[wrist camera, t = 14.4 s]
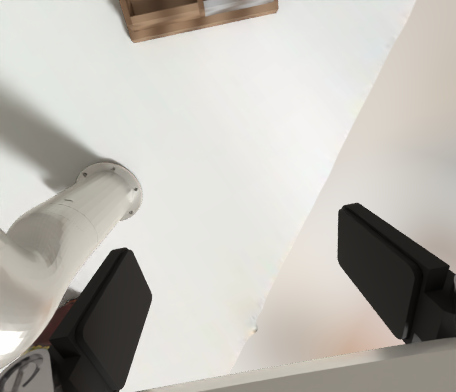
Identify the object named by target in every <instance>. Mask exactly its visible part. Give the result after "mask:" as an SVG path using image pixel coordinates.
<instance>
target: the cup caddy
mask: <svg viewBox="0 0 456 392" xmlns="http://www.w3.org/2000/svg"><path fill="white" fill-rule="evenodd" d="M119 2H120V5H121V8H122V12H123V15H124V18H125V21H126V25H127V28H128V31H129V35H130V38H131V41H133V42H134V43H137V42H142V41H146V40H151V39H156V38H160V37H165V36H170V35H174V34H179V33H184V32H188V31H193V30H198V29H202V28H207V27H212V26H217V25H221V24H226V23H231V22H235V21H240V20H245V19H249V18H254V17H259V16H263V15H268V14H273V13H276V12H277V10H278V0H119Z"/></svg>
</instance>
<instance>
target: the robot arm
mask: <svg viewBox="0 0 456 392" xmlns="http://www.w3.org/2000/svg"><path fill="white" fill-rule="evenodd" d="M114 168H115V169H114ZM136 187H137V188H136ZM142 198H143V194H142V189H141V186H140V184H139V182H138V180H137V179H136V177H135V176H134V175H133V174H132V173H131V172H130V171H128V170H127V169H125V168H124V167H122V166H120V165H117V164H114V163H108V162H101V163H96V164H92V165H90V166H88V167H86V168H85V169H84V170H82V172H81V173H80V174H79V176H78V178H77V180H76V184H74V185H73V186H71V187H69V188H67V189H66V190H64V191H62V192H60V193H59V194H57V195H55V196H53V197H52V198H50V199H48V200H46V201H45V202H43V203H41V204H39V205H38V206H36V207H34V208H32V209H31V210H29V211H27V212H26V213H24V214H23V215H21V216H20V217H19V218H18V219H17V220H16V221H15V222H14V223H13V224H12V226H11V227H10V228H9V230H8V231H7V233H6V234H5V233H4V232H3V231H2V230H1V229H0V369H1V368H3V367H5V366H6V365H8V364H9V363H11V362H12V361H13V360H15V359H16V358H17V357H19V356H20V355H21V354H22V353H23V352H24V351H26V350H27V349H28V348H29V347H30V346H31V345H32V344H33V342H34V341H35V340H36V339H37V338H38V337H39V336H40V334H41V333H42V332H43V330H44V329H45V327H46V326H47V325H48V323H49V322H50V320H51V318H52V317H53V315H54V313H55V312H56V310H57V308H58V306H59V304H60V302H61V300H62V298H63V296H64V294H65V292H66V290H67V288H68V286H69V285H70V283H71V281H72V280H73V278H74V277H75V275H76V274H77V273H78V271H79V270H80V268H81V267H82V266H83V265H84V263H85V262H86V261H87V260H88V258H89V257H90V256H91V255H92V253H93V252H94V251H95V250H96V249H97V247H98V246H99V245H100V244H101V243H102V241H103V240H104V239H105V238H106V236H107V235H108V234H109V233H110V232H111V230H112V229H113V228H114V227H115V225H116V224H117V223H118V222H119V221H123V220H126V219H128V218H130V217H132V216H133V215H134V214H135V213H136V212H137V211H138V209H139V208H140V206H141V203H142ZM338 262H339V264H340V266H341V267H342V269H343V270H344V271H345V273H346V274H347V275H348V276H349V278H350V279H351V280H352V282H353V283H354V284H355V285H356V287H357V288H358V289H359V291H360V292H361V293H362V294H363V296H364V297H365V298H366V300H367V301H368V302H369V303H370V304H371V306H372V307H373V309H374V310H375V311H376V312H377V314H378V315H379V316H380V318H381V319H382V320H383V321H384V323H385V324H386V325H387V327H388V328H389V329H390V330H391V332H392V333H393V334H394V335H395V337H397V338H398V339H402V340H403V341H404V342H405V344H404V345H398V346H391V347H385V348H379V349H374V350H368V351H362V352H356V353H350V354H344V355H339V356H332V357H327V358H321V359H315V360H309V361H303V362H298V363H292V364H286V365H281V366H276V367H270V368H264V369H258V370H252V371H247V372H241V373H236V374H230V375H224V376H219V377H213V378H208V379H202V380H197V381H191V382H186V383H180V384H175V385H169V386H164V387H159V388H153V389H148V390H142V391H137V392H456V274H454V273H453V272H452V271H450V270H449V267H450V266H449V265H448V264H446V263H445V262H443V261H442V260H440V259H439V258H438V257H436V256H435V255H433V254H432V253H430V252H429V251H427V250H426V249H425V248H423V247H422V246H420V245H419V244H417V243H416V242H414V241H413V240H411V239H410V238H409V237H407V236H406V235H404V234H403V233H401V232H399V231H398V230H397V229H395V228H394V227H393V226H391V225H390V224H388V223H387V222H385V221H384V220H382V219H381V218H379V217H378V216H377V215H375V214H373V213H372V212H371V211H369V210H368V209H366V208H365V207H363V206H362V205H361V204H359V203H354V204H348V205H344V206H343V207H342V209H340V210H339V213H338ZM151 301H152V294H151V291H150V289H149V287H148V284H147V282H146V280H145V278H144V276H143V273H142V271H141V269H140V267H139V265H138V262H137V260H136V258H135V256H134V253H133V252H132V250H128V249H127V248H120V249H115V250H112V251H111V252H110V253H109V255H108V256H107V257H106V259H105V260H104V262H103V263H102V265H101V266H100V267H99V269H98V270H97V272H96V273H95V274H94V276H93V277H92V279H91V280H90V282H89V283H88V284H87V286H86V287H85V289H84V290H83V291H82V293H81V294H80V296H79V297H78V299H77V300H76V301H75V303H74V304H73V306H72V307H71V308H70V310H69V311H68V313H67V314H66V315H65V317H64V318H63V320H62V321H61V323H60V324H59V325H58V327H57V328H56V330H55V331H54V332H53V334H52V335H51V337H50V338H49V342H50V343H51V346H50V347H49V349H48V350H46V349H36V350H33V351H30V352H28V353H26V354H24V355H23V356H21V357H19V358H18V359H17V360H15V361H14V362H13V363H11V364H10V365H9V366H8V367H7V368H6V369H5V370H3V371H2V372H1V373H0V392H119V390H120V389H122V388H123V387H124V385H125V382H126V379H127V376H128V373H129V370H130V367H131V364H132V361H133V358H134V354H135V351H136V348H137V345H138V342H139V339H140V336H141V333H142V329H143V326H144V323H145V320H146V317H147V314H148V311H149V308H150V305H151Z"/></svg>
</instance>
